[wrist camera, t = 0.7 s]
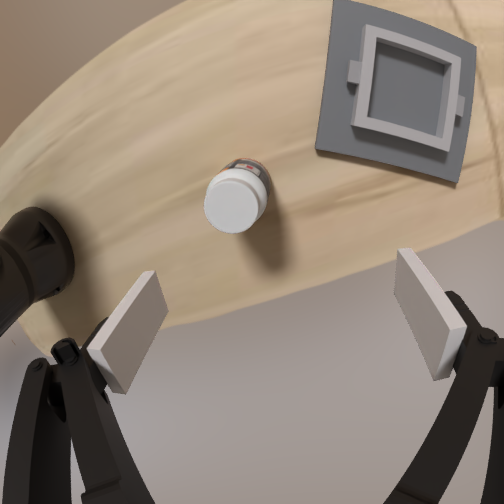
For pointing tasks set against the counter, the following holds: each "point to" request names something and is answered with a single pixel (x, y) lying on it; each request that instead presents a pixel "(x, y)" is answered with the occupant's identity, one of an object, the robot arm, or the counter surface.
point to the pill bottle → (237, 195)
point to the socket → (396, 91)
